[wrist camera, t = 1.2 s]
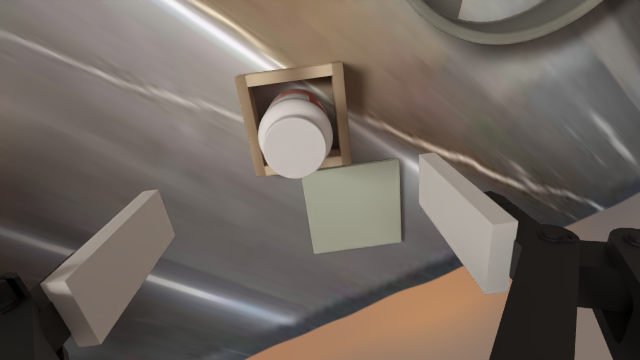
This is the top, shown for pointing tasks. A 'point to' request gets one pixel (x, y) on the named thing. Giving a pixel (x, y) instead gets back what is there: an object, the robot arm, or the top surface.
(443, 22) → the cake pan
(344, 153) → the pocket frame
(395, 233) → the coaster
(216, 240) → the top surface
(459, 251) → the robot arm
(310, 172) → the pill bottle
